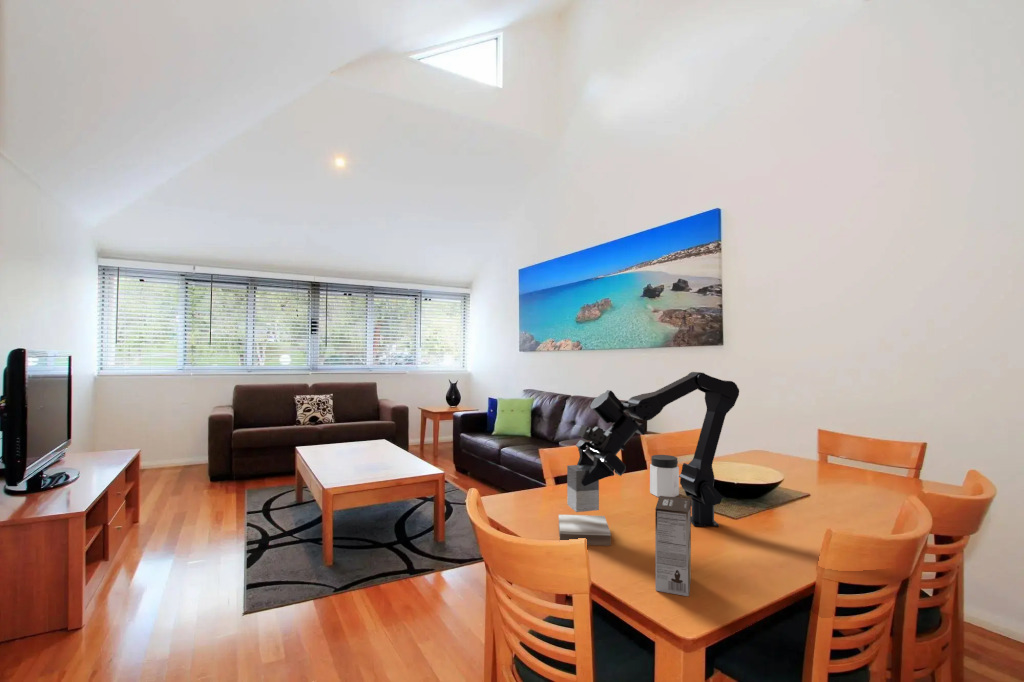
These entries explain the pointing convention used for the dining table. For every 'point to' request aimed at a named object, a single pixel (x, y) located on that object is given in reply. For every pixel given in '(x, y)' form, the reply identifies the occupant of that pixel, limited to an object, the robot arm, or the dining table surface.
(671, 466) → the jar
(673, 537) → the coffee box
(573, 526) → the stand
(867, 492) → the dining table surface
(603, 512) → the dining table surface
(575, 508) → the block
